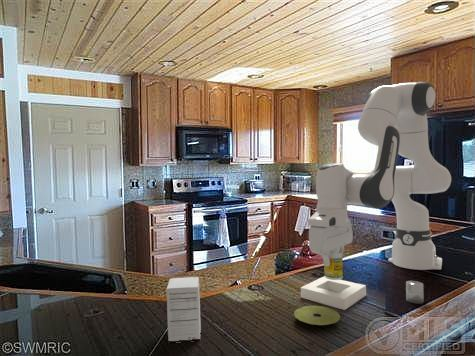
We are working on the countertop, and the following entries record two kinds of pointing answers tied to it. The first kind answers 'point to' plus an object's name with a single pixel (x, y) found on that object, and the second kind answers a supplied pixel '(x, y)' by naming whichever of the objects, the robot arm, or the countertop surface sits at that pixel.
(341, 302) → the bore plate
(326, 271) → the supplement bottle
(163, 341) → the countertop surface
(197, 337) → the supplement box
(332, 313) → the green disc
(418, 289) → the short stub
